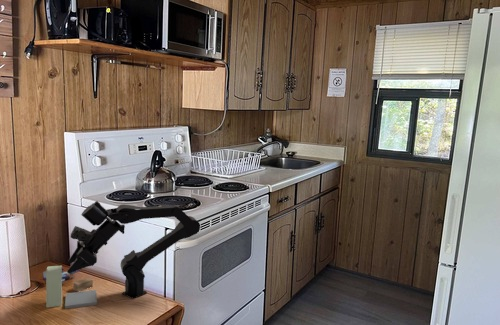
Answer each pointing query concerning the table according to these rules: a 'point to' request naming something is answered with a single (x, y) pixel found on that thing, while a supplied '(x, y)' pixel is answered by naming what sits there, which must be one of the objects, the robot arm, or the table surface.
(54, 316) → the table surface
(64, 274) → the toy airplane
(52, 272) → the sage green pillar
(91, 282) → the brown block
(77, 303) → the slate tile
